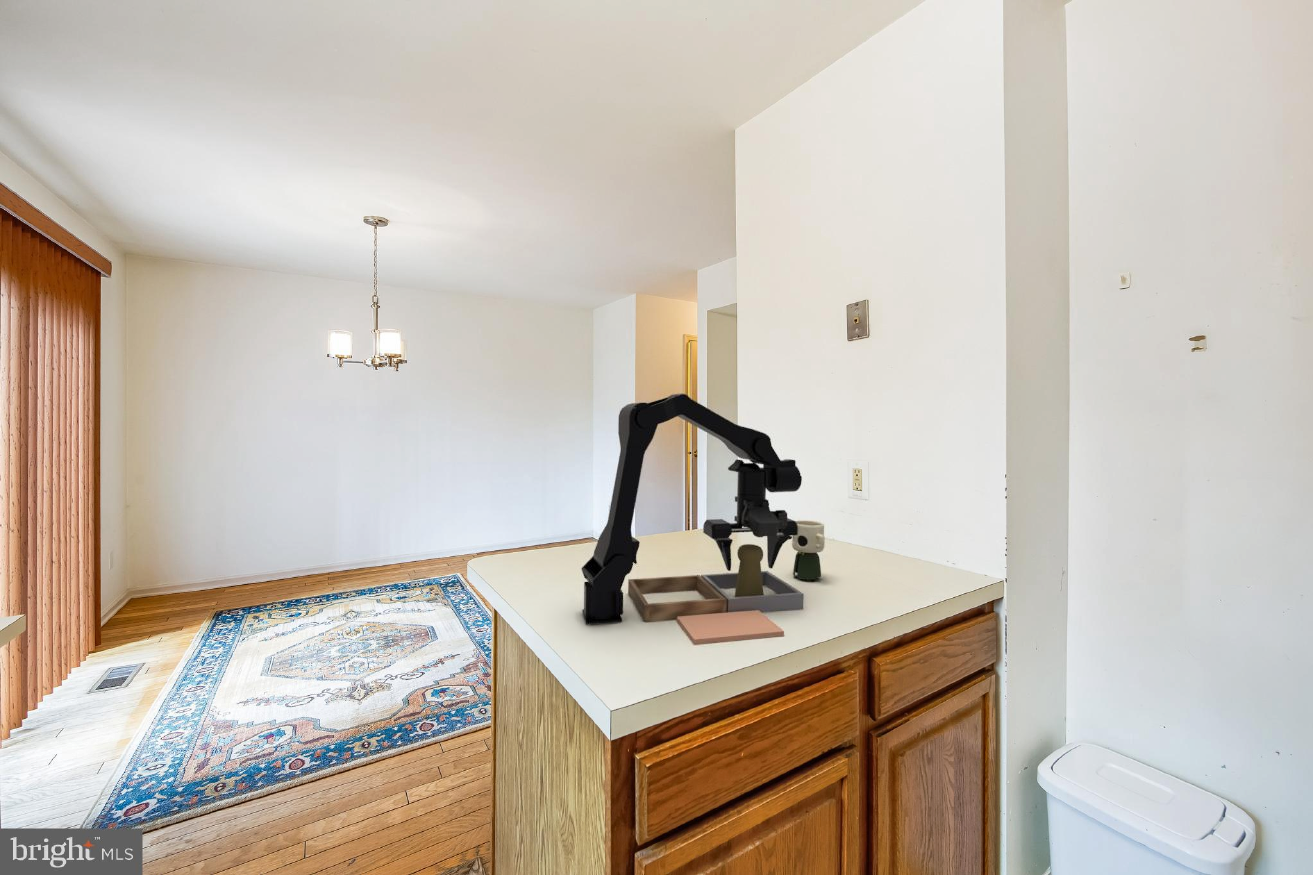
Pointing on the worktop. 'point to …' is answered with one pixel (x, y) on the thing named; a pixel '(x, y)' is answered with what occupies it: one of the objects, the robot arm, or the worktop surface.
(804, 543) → the character mug
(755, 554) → the cork
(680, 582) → the walnut bin
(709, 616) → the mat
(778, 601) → the charcoal bin
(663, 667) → the worktop surface
